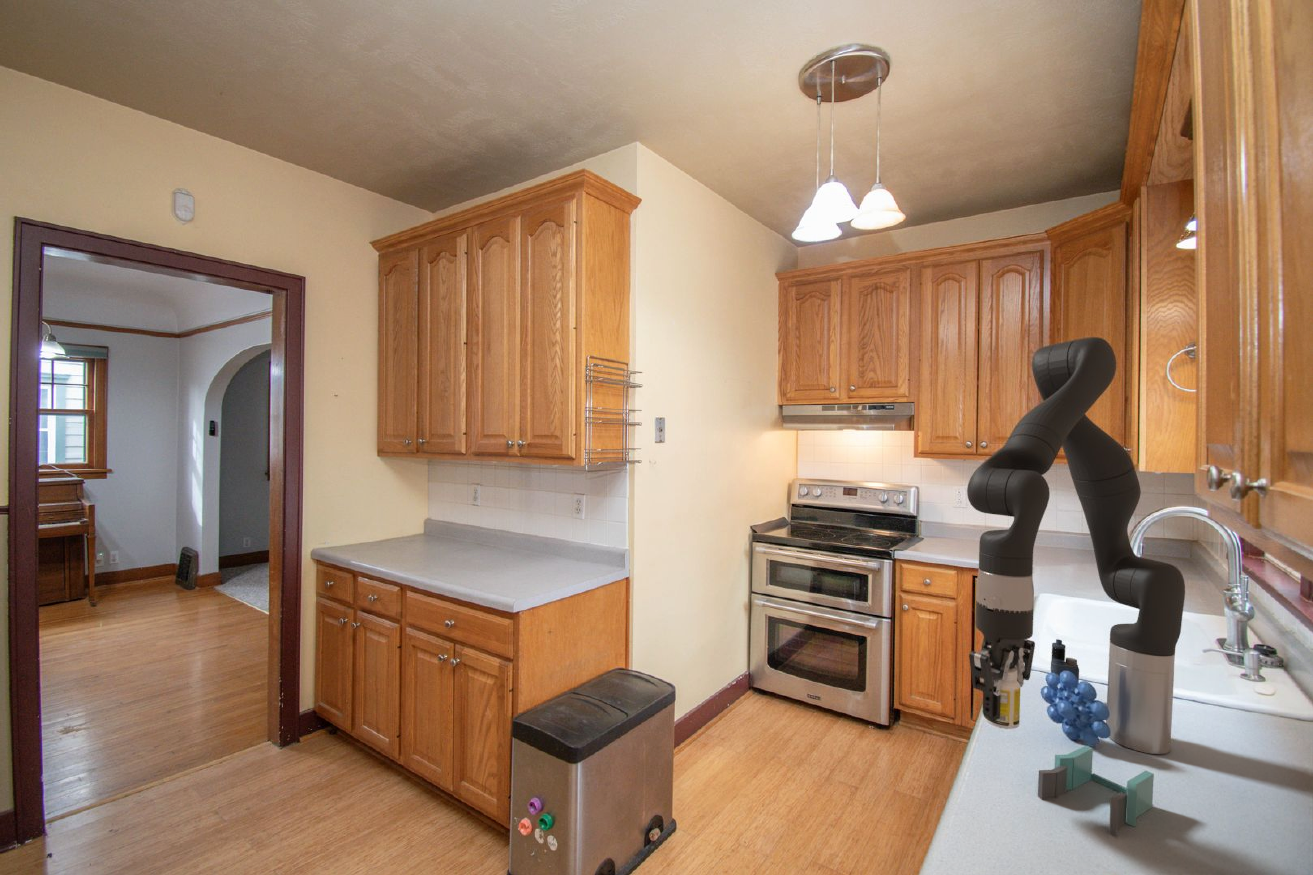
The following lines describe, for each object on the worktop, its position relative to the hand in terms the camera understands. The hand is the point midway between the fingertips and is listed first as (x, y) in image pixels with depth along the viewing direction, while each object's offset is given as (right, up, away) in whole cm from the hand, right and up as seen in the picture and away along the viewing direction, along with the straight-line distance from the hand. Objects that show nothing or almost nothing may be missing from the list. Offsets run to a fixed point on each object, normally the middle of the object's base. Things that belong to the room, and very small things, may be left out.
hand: (1001, 712), depth 91 cm
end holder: (+17, -13, +1) cm, 21 cm away
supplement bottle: (0, -2, 0) cm, 2 cm away
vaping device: (+34, -13, +36) cm, 51 cm away
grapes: (+23, -13, +18) cm, 32 cm away
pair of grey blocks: (+10, -13, -3) cm, 17 cm away
